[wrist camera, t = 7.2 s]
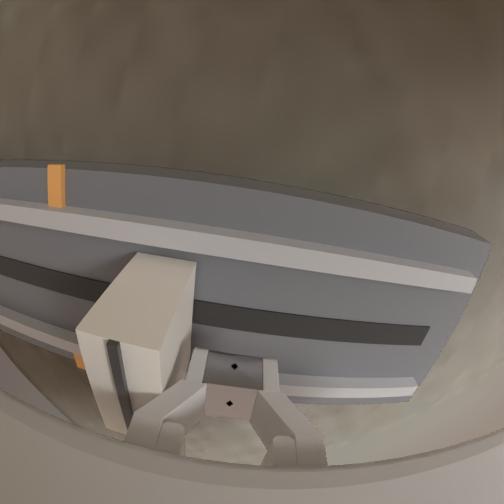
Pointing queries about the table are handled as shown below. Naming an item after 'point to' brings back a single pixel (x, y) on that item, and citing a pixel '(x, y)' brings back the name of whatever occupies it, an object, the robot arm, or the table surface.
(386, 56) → the table surface
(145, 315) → the fader tab
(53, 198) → the pair of orange ticks
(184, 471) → the robot arm
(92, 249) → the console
